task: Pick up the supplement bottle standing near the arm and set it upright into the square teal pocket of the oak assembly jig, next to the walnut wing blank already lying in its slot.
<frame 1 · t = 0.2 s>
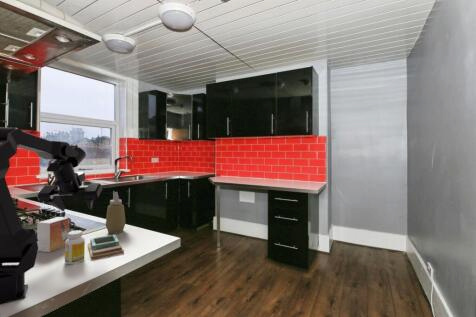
hand: (77, 209, 90), 14 cm above the worktop, tool tilted 30°, fingers open, 9 cm apart
jig: (105, 249, 89), on the worktop
squeeze bottle: (115, 232, 109), on the worktop
supplement bottle: (74, 261, 80), on the worktop
small box: (53, 248, 90), on the worktop
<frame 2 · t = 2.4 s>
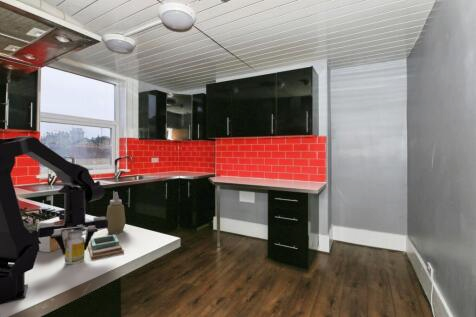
hand: (74, 251, 80), 3 cm above the worktop, tool pointing down, fingers closed on supplement bottle, 5 cm apart
supplement bottle: (74, 261, 80), on the worktop, touching gripper
everything else where it was.
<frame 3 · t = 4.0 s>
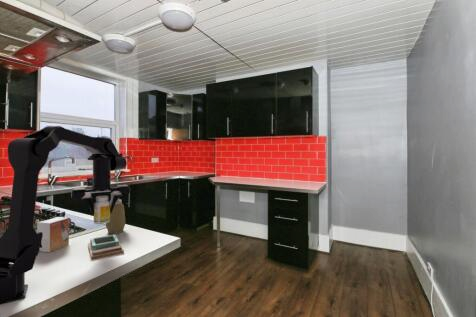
hand: (102, 213, 90), 13 cm above the worktop, tool pointing down, fingers closed on supplement bottle, 5 cm apart
supplement bottle: (102, 222, 90), point 10 cm above the worktop, touching gripper
everything else where it was.
when the fingers open (5 cm above the worktop, at t = 5.8 s): supplement bottle drops 1 cm, resting on jig.
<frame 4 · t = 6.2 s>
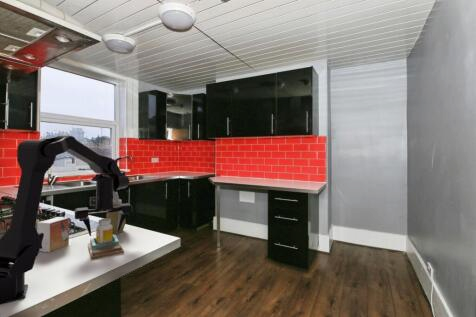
hand: (104, 233, 91), 5 cm above the worktop, tool pointing down, fingers open, 9 cm apart
supplement bottle: (104, 245, 91), point 1 cm above the worktop, touching jig
everything else where it was.
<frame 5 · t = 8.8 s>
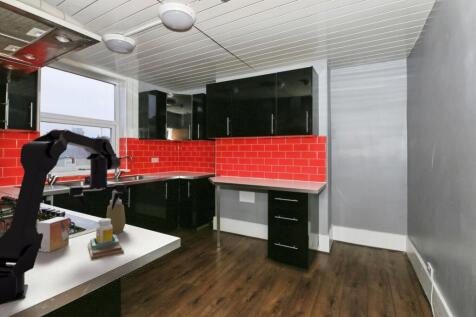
hand: (98, 211, 94), 13 cm above the worktop, tool pointing down, fingers open, 9 cm apart
nothing on the worktop moved.
at the end: supplement bottle 0.0 cm from the target spot on the jig, point 0.8 cm above the jig's base; supplement bottle tilted 0°; the gripper is holding nothing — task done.
